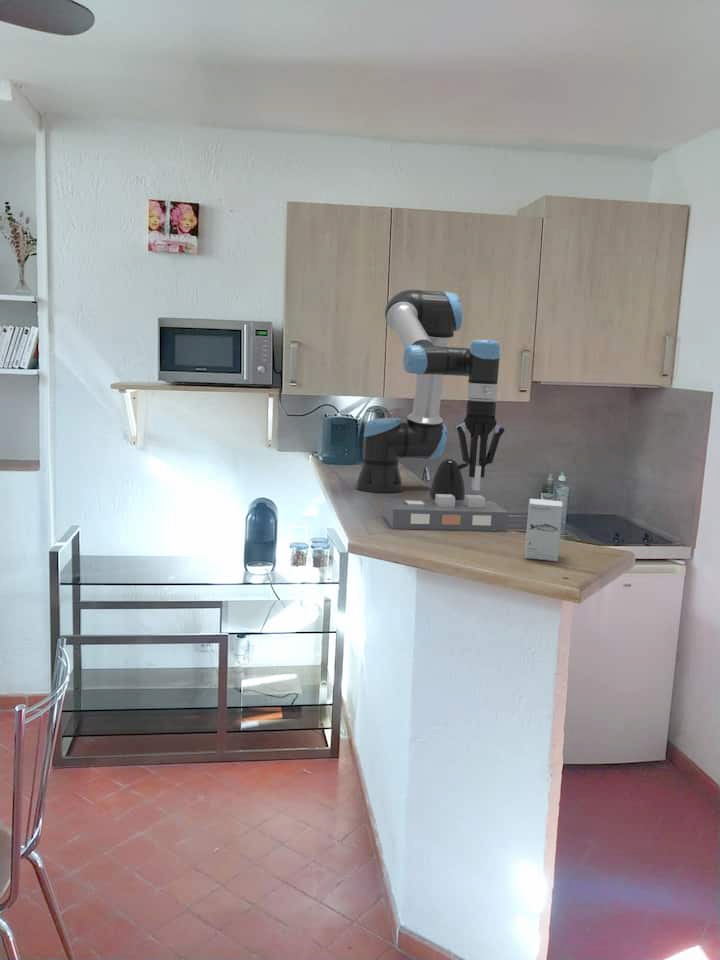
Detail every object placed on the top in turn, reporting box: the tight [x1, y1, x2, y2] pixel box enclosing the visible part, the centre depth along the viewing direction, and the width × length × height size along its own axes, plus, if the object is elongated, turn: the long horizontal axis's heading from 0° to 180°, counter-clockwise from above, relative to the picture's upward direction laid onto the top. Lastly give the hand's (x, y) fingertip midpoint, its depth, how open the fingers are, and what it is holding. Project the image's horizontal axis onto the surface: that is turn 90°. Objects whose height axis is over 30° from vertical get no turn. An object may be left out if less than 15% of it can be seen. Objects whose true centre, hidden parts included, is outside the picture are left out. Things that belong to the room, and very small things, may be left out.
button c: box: [464, 494, 486, 508], centre depth 210 cm, size 4×4×4 cm
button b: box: [435, 494, 455, 507], centre depth 209 cm, size 4×4×4 cm
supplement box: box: [524, 498, 564, 563], centre depth 177 cm, size 7×7×13 cm
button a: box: [405, 501, 425, 506], centre depth 208 cm, size 4×4×4 cm
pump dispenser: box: [429, 458, 469, 500], centre depth 227 cm, size 10×10×15 cm
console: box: [382, 497, 510, 532], centre depth 209 cm, size 16×30×5 cm, turn 96°
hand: (475, 489), depth 209 cm, fingers closed
